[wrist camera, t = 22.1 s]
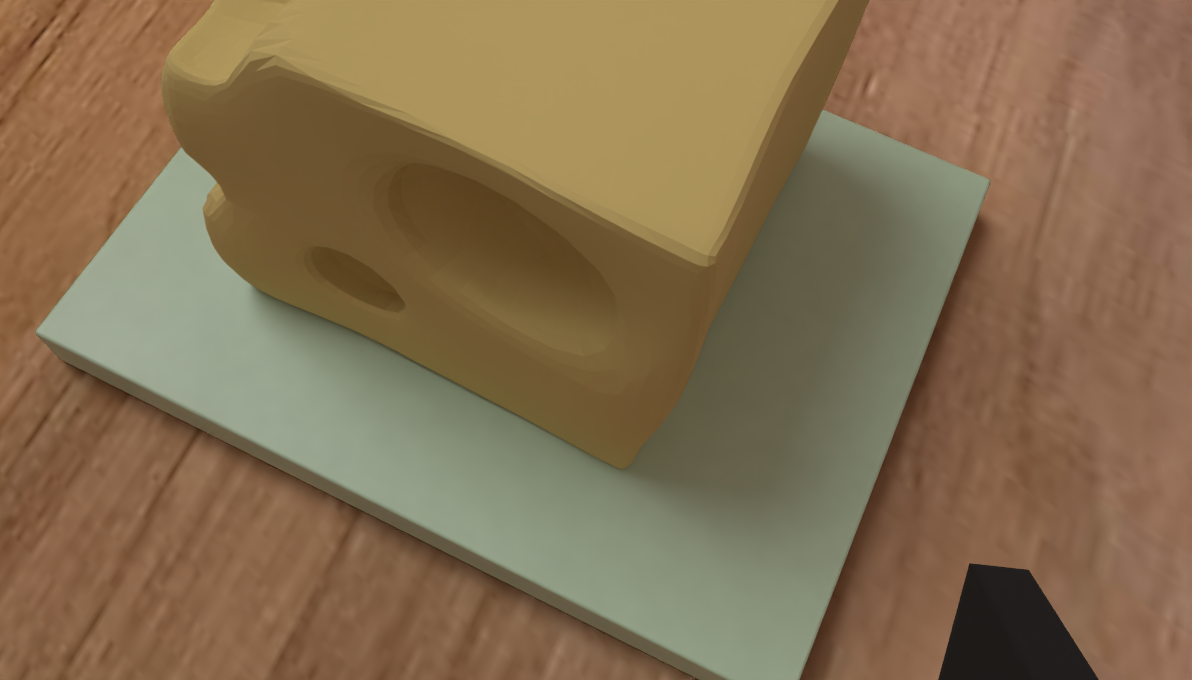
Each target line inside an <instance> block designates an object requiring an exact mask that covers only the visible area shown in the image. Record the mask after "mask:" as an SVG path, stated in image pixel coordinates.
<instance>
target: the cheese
mask: <svg viewBox="0 0 1192 680" xmlns="http://www.w3.org/2000/svg"><path fill="white" fill-rule="evenodd" d="M868 2H869V0H214V1H213V3H212V4H211V6H210V8H209V9H208V11H207V12H206V13H205V14H204V15H203V16H202V18H201V19H200V20H199V21H198V22H197V23H196V24H195V25H194V26H193V27H192V28H191V29H190V30H189V31H188V32H187V33H186V34H185V35H184V36H183V37H182V38H181V39H180V40H179V41H178V42H177V43H176V44H175V46H174V47H173V48H172V50H171V51H170V53H169V55H168V57H167V59H166V61H165V64H164V67H163V72H162V78H161V90H162V97H163V102H164V107H165V110H166V113H167V116H168V118H169V121H170V124H171V127H172V129H173V131H174V133H175V135H176V137H177V139H178V141H179V143H180V145H181V146H182V148H183V150H184V152H185V153H186V154H187V155H189V156H190V157H191V158H192V159H193V160H195V161H196V162H197V163H198V164H199V165H200V166H201V167H203V168H204V169H205V170H206V171H207V172H208V173H209V174H210V175H211V176H212V177H213V178H214V179H215V180H216V182H217V183H216V184H215V186H214V187H213V188H212V189H211V191H210V192H209V193H208V195H207V201H206V202H205V204H204V206H203V214H204V220H205V226H206V229H207V232H208V234H209V237H210V239H211V242H212V245H213V246H214V248H215V250H216V251H217V253H218V254H219V256H220V257H221V258H222V260H223V261H224V262H225V263H226V264H227V265H228V266H229V267H230V268H231V269H233V270H234V271H235V272H236V273H237V274H238V275H239V276H241V277H242V278H243V279H244V280H245V281H247V282H248V283H249V284H251V285H252V286H254V287H255V288H257V289H259V290H261V291H263V292H265V293H266V294H268V295H270V296H272V297H274V298H276V299H279V300H281V301H283V302H286V303H288V304H291V305H293V306H295V307H298V308H301V309H303V310H306V311H308V312H311V313H313V314H315V315H318V316H320V317H323V318H325V319H328V320H330V321H333V322H335V323H337V324H340V325H342V326H344V327H347V328H349V329H352V330H354V331H356V332H358V333H360V334H362V335H364V336H366V337H369V338H371V339H373V340H375V341H377V342H379V343H381V344H383V345H385V346H387V347H389V348H391V349H393V350H395V351H397V352H399V353H401V354H403V355H404V356H406V357H408V358H410V359H412V360H413V361H415V362H417V363H419V364H421V365H423V366H425V367H427V368H429V369H431V370H433V371H435V372H437V373H439V374H440V375H442V376H444V377H446V378H448V379H450V380H452V381H454V382H456V383H458V384H460V385H462V386H463V387H465V388H467V389H469V390H471V391H473V392H475V393H477V394H479V395H481V396H483V397H484V398H486V399H488V400H490V401H492V402H494V403H496V404H498V405H500V406H502V407H504V408H505V409H507V410H509V411H511V412H513V413H515V414H517V415H519V416H521V417H523V418H525V419H526V420H528V421H530V422H532V423H534V424H536V425H538V426H539V427H541V428H543V429H545V430H547V431H548V432H550V433H552V434H554V435H556V436H558V437H559V438H561V439H563V440H565V441H567V442H568V443H570V444H572V445H574V446H576V447H578V448H579V449H581V450H583V451H585V452H587V453H588V454H590V455H592V456H594V457H596V458H598V459H600V460H602V461H604V462H606V463H608V464H610V465H612V466H614V467H616V468H620V469H623V468H626V467H627V466H629V465H630V464H631V463H632V462H633V460H634V459H635V457H636V455H637V454H638V452H639V450H640V449H641V447H642V446H643V444H644V443H645V442H646V441H647V440H648V439H649V438H650V437H651V436H652V434H653V433H654V432H655V431H656V430H657V429H658V428H659V427H660V425H661V424H662V423H663V422H664V421H665V420H666V418H667V417H668V415H669V414H670V412H671V411H672V410H673V408H674V407H675V405H676V404H677V402H678V400H679V398H680V397H681V395H682V393H683V391H684V389H685V387H686V384H687V382H688V380H689V378H690V376H691V373H692V371H693V369H694V366H695V364H696V361H697V358H698V356H699V353H700V351H701V348H702V346H703V343H704V340H705V337H706V335H707V332H708V330H709V328H710V326H711V324H712V323H713V321H714V319H715V317H716V315H717V313H718V311H719V309H720V307H721V305H722V303H723V302H724V300H725V298H726V296H727V294H728V292H729V290H730V288H731V286H732V284H733V282H734V280H735V278H736V277H737V275H738V273H739V271H740V269H741V267H742V265H743V263H744V261H745V259H746V257H747V255H748V253H749V251H750V250H751V248H752V246H753V244H754V242H755V240H756V238H757V236H758V234H759V232H760V230H761V228H762V226H763V224H764V222H765V220H766V218H767V216H768V214H769V212H770V211H771V209H772V207H773V205H774V203H775V201H776V199H777V197H778V196H779V194H780V192H781V190H782V188H783V186H784V184H785V183H786V181H787V179H788V177H789V176H790V174H791V172H792V170H793V169H794V167H795V165H796V163H797V161H798V160H799V158H800V156H801V154H802V153H803V151H804V149H805V148H806V146H807V143H808V141H809V139H810V137H811V134H812V132H813V130H814V127H815V125H816V123H817V121H818V119H819V116H820V114H821V112H822V110H823V107H824V105H825V103H826V101H827V98H828V96H829V94H830V92H831V89H832V87H833V85H834V83H835V80H836V78H837V76H838V74H839V71H840V69H841V67H842V65H843V62H844V60H845V58H846V55H847V53H848V50H849V48H850V46H851V43H852V41H853V38H854V36H855V34H856V31H857V29H858V26H859V24H860V22H861V19H862V17H863V14H864V12H865V9H866V7H867V5H868Z"/></svg>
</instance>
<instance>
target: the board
mask: <svg viewBox="0 0 1192 680" xmlns="http://www.w3.org/2000/svg"><path fill="white" fill-rule="evenodd" d="M216 183H217V182H216V180H215V179H214V178H213V177H212V176H211V175H210V174H209V173H208V172H207V171H206V170H205V169H204V168H203V167H201V166H200V165H199V164H198V163H197V162H196V161H195V160H193V159H192V158H191V157H190V156H189V155H187V154H186V153H185V152H184V150H183V148H182V146H181V148H180V149H179V150H178V151H177V153H176V154H175V155H174V157H173V158H172V159H171V160H170V162H169V163H168V164H167V165H166V167H165V168H164V169H163V170H162V172H161V173H160V174H159V175H158V177H157V178H156V179H155V181H154V182H153V183H152V184H151V186H150V187H149V188H148V189H147V191H146V192H145V193H144V194H143V196H142V197H141V198H140V200H139V201H138V202H137V203H136V205H135V206H134V207H133V208H132V210H131V211H130V212H129V213H128V215H127V216H126V217H125V218H124V220H123V221H122V222H121V224H120V225H119V226H118V227H117V229H116V230H115V231H114V232H113V234H112V235H111V236H110V237H109V239H108V240H107V241H106V242H105V244H104V245H103V246H102V248H101V249H100V250H99V251H98V253H97V254H96V255H95V256H94V258H93V259H92V260H91V261H90V263H89V264H88V265H87V266H86V268H85V269H84V270H83V272H82V273H81V274H80V275H79V277H78V278H77V279H76V280H75V282H74V283H73V284H72V285H71V287H70V288H69V289H68V290H67V292H66V293H65V294H64V296H63V297H62V298H61V299H60V301H59V302H58V303H57V304H56V306H55V307H54V308H53V309H52V311H51V312H50V313H49V314H48V316H47V317H46V318H45V320H44V321H43V322H42V323H41V325H40V326H39V327H38V328H37V330H36V332H35V333H36V335H37V336H38V337H39V338H40V339H41V340H42V341H43V342H44V343H45V344H46V345H47V346H48V347H49V348H50V349H51V350H52V351H53V352H54V353H55V354H56V355H57V356H58V357H59V358H60V359H61V360H63V361H65V362H67V363H69V364H71V365H73V366H75V367H77V368H79V369H81V370H83V371H85V372H87V373H89V374H91V375H93V376H95V377H96V378H98V379H100V380H102V381H104V382H106V383H108V384H110V385H112V386H114V387H116V388H118V389H120V390H122V391H124V392H126V393H128V394H130V395H132V396H134V397H136V398H138V399H140V400H142V401H144V402H146V403H148V404H150V405H152V406H154V407H156V408H158V409H160V410H162V411H164V412H166V413H168V414H170V415H172V416H174V417H176V418H178V419H180V420H182V421H184V422H186V423H188V424H190V425H192V426H194V427H196V428H198V429H200V430H202V431H204V432H206V433H208V434H210V435H212V436H214V437H216V438H218V439H220V440H222V441H224V442H226V443H228V444H230V445H232V446H234V447H236V448H238V449H240V450H242V451H244V452H246V453H248V454H250V455H252V456H254V457H256V458H258V459H260V460H262V461H264V462H266V463H268V464H270V465H272V466H274V467H276V468H278V469H280V470H282V471H284V472H286V473H288V474H290V475H292V476H294V477H296V478H298V479H300V480H302V481H304V482H306V483H308V484H310V485H312V486H314V487H316V488H318V489H320V490H322V491H324V492H326V493H328V494H330V495H332V496H334V497H336V498H338V499H340V500H342V501H344V502H346V503H348V504H350V505H352V506H354V507H356V508H358V509H360V510H362V511H364V512H366V513H368V514H370V515H372V516H374V517H376V518H378V519H380V520H382V521H384V522H386V523H388V524H390V525H392V526H394V527H396V528H398V529H400V530H402V531H404V532H406V533H408V534H410V535H412V536H414V537H415V538H417V539H419V540H421V541H423V542H425V543H427V544H429V545H431V546H433V547H435V548H437V549H439V550H441V551H443V552H445V553H447V554H449V555H451V556H453V557H455V558H457V559H459V560H461V561H463V562H465V563H467V564H469V565H471V566H473V567H475V568H477V569H479V570H481V571H483V572H485V573H487V574H489V575H491V576H493V577H495V578H497V579H499V580H501V581H503V582H505V583H507V584H509V585H511V586H513V587H515V588H517V589H519V590H521V591H523V592H525V593H527V594H529V595H531V596H533V597H535V598H537V599H539V600H541V601H543V602H545V603H547V604H549V605H551V606H553V607H555V608H557V609H559V610H561V611H563V612H565V613H567V614H569V615H571V616H573V617H575V618H577V619H579V620H581V621H583V622H585V623H587V624H589V625H591V626H593V627H595V628H597V629H599V630H601V631H603V632H605V633H607V634H609V635H611V636H613V637H615V638H617V639H619V640H621V641H623V642H625V643H627V644H629V645H631V646H633V647H635V648H637V649H639V650H641V651H643V652H645V653H647V654H649V655H651V656H653V657H655V658H657V659H659V660H661V661H663V662H665V663H667V664H669V665H671V666H673V667H675V668H677V669H679V670H681V671H683V672H685V673H687V674H689V675H691V676H693V677H695V678H697V679H699V680H800V677H801V675H802V672H803V669H804V667H805V664H806V662H807V659H808V656H809V654H810V651H811V649H812V646H813V643H814V641H815V638H816V636H817V633H818V630H819V628H820V625H821V623H822V620H823V617H824V615H825V612H826V610H827V607H828V604H829V602H830V599H831V596H832V594H833V591H834V589H835V586H836V583H837V581H838V578H839V576H840V573H841V570H842V568H843V565H844V563H845V560H846V557H847V555H848V552H849V550H850V547H851V544H852V542H853V539H854V537H855V534H856V531H857V529H858V526H859V524H860V521H861V518H862V516H863V513H864V511H865V508H866V505H867V503H868V500H869V497H870V495H871V492H872V490H873V487H874V484H875V482H876V479H877V477H878V474H879V471H880V469H881V466H882V464H883V461H884V458H885V456H886V453H887V451H888V448H889V445H890V443H891V440H892V438H893V435H894V432H895V430H896V427H897V425H898V422H899V419H900V417H901V414H902V412H903V409H904V406H905V404H906V401H907V398H908V396H909V393H910V391H911V388H912V385H913V383H914V380H915V378H916V375H917V372H918V370H919V367H920V365H921V362H922V359H923V357H924V354H925V352H926V349H927V346H928V344H929V341H930V339H931V336H932V333H933V331H934V328H935V326H936V323H937V320H938V318H939V315H940V312H941V310H942V307H943V305H944V302H945V299H946V297H947V294H948V292H949V289H950V286H951V284H952V281H953V279H954V276H955V273H956V271H957V268H958V266H959V263H960V260H961V258H962V255H963V253H964V250H965V247H966V245H967V242H968V240H969V237H970V234H971V232H972V229H973V227H974V224H975V221H976V219H977V216H978V213H979V211H980V208H981V206H982V203H983V200H984V198H985V195H986V193H987V190H988V187H989V185H990V180H989V179H988V178H985V177H983V176H980V175H978V174H976V173H973V172H971V171H968V170H966V169H964V168H961V167H959V166H956V165H954V164H952V163H949V162H947V161H944V160H942V159H940V158H937V157H935V156H933V155H930V154H928V153H925V152H923V151H921V150H918V149H916V148H913V147H911V146H909V145H906V144H904V143H901V142H899V141H897V140H894V139H892V138H890V137H887V136H885V135H882V134H880V133H878V132H875V131H873V130H870V129H868V128H866V127H863V126H861V125H858V124H856V123H854V122H851V121H849V120H847V119H844V118H842V117H839V116H837V115H835V114H832V113H830V112H827V111H825V110H822V112H821V114H820V116H819V119H818V121H817V123H816V125H815V127H814V130H813V132H812V134H811V137H810V139H809V141H808V143H807V146H806V148H805V149H804V151H803V153H802V154H801V156H800V158H799V160H798V161H797V163H796V165H795V167H794V169H793V170H792V172H791V174H790V176H789V177H788V179H787V181H786V183H785V184H784V186H783V188H782V190H781V192H780V194H779V196H778V197H777V199H776V201H775V203H774V205H773V207H772V209H771V211H770V212H769V214H768V216H767V218H766V220H765V222H764V224H763V226H762V228H761V230H760V232H759V234H758V236H757V238H756V240H755V242H754V244H753V246H752V248H751V250H750V251H749V253H748V255H747V257H746V259H745V261H744V263H743V265H742V267H741V269H740V271H739V273H738V275H737V277H736V278H735V280H734V282H733V284H732V286H731V288H730V290H729V292H728V294H727V296H726V298H725V300H724V302H723V303H722V305H721V307H720V309H719V311H718V313H717V315H716V317H715V319H714V321H713V323H712V324H711V326H710V328H709V330H708V332H707V335H706V337H705V340H704V343H703V346H702V348H701V351H700V353H699V356H698V358H697V361H696V364H695V366H694V369H693V371H692V373H691V376H690V378H689V380H688V382H687V384H686V387H685V389H684V391H683V393H682V395H681V397H680V398H679V400H678V402H677V404H676V405H675V407H674V408H673V410H672V411H671V412H670V414H669V415H668V417H667V418H666V420H665V421H664V422H663V423H662V424H661V425H660V427H659V428H658V429H657V430H656V431H655V432H654V433H653V434H652V436H651V437H650V438H649V439H648V440H647V441H646V442H645V443H644V444H643V446H642V447H641V449H640V450H639V452H638V454H637V455H636V457H635V459H634V460H633V462H632V463H631V464H630V465H629V466H627V467H626V468H623V469H620V468H616V467H614V466H612V465H610V464H608V463H606V462H604V461H602V460H600V459H598V458H596V457H594V456H592V455H590V454H588V453H587V452H585V451H583V450H581V449H579V448H578V447H576V446H574V445H572V444H570V443H568V442H567V441H565V440H563V439H561V438H559V437H558V436H556V435H554V434H552V433H550V432H548V431H547V430H545V429H543V428H541V427H539V426H538V425H536V424H534V423H532V422H530V421H528V420H526V419H525V418H523V417H521V416H519V415H517V414H515V413H513V412H511V411H509V410H507V409H505V408H504V407H502V406H500V405H498V404H496V403H494V402H492V401H490V400H488V399H486V398H484V397H483V396H481V395H479V394H477V393H475V392H473V391H471V390H469V389H467V388H465V387H463V386H462V385H460V384H458V383H456V382H454V381H452V380H450V379H448V378H446V377H444V376H442V375H440V374H439V373H437V372H435V371H433V370H431V369H429V368H427V367H425V366H423V365H421V364H419V363H417V362H415V361H413V360H412V359H410V358H408V357H406V356H404V355H403V354H401V353H399V352H397V351H395V350H393V349H391V348H389V347H387V346H385V345H383V344H381V343H379V342H377V341H375V340H373V339H371V338H369V337H366V336H364V335H362V334H360V333H358V332H356V331H354V330H352V329H349V328H347V327H344V326H342V325H340V324H337V323H335V322H333V321H330V320H328V319H325V318H323V317H320V316H318V315H315V314H313V313H311V312H308V311H306V310H303V309H301V308H298V307H295V306H293V305H291V304H288V303H286V302H283V301H281V300H279V299H276V298H274V297H272V296H270V295H268V294H266V293H265V292H263V291H261V290H259V289H257V288H255V287H254V286H252V285H251V284H249V283H248V282H247V281H245V280H244V279H243V278H242V277H241V276H239V275H238V274H237V273H236V272H235V271H234V270H233V269H231V268H230V267H229V266H228V265H227V264H226V263H225V262H224V261H223V260H222V258H221V257H220V256H219V254H218V253H217V251H216V250H215V248H214V246H213V245H212V242H211V239H210V237H209V234H208V232H207V229H206V226H205V220H204V214H203V206H204V204H205V202H206V201H207V195H208V193H209V192H210V191H211V189H212V188H213V187H214V186H215V184H216Z"/></svg>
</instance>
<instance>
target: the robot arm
mask: <svg viewBox="0 0 1192 680" xmlns="http://www.w3.org/2000/svg"><path fill="white" fill-rule="evenodd" d="M938 680H1098V678H1097V676H1096V675H1095V673H1094V672H1093V670H1092V669H1091V667H1090V665H1089V664H1088V662H1087V661H1086V659H1085V658H1084V656H1083V654H1082V653H1081V651H1080V650H1079V648H1078V647H1077V645H1076V643H1075V642H1074V640H1073V639H1072V637H1071V636H1070V634H1069V632H1068V631H1067V629H1066V628H1065V626H1064V625H1063V623H1062V621H1061V620H1060V618H1059V617H1058V615H1057V614H1056V612H1055V610H1054V609H1053V607H1052V606H1051V604H1050V603H1049V601H1048V600H1047V598H1046V596H1045V595H1044V593H1043V592H1042V590H1041V589H1040V587H1039V585H1038V584H1037V582H1036V581H1035V579H1034V578H1033V576H1032V574H1031V573H1030V571H1029V570H1025V569H1016V568H1007V567H998V566H989V565H980V564H971V563H970V564H969V567H968V571H967V575H966V579H965V582H964V586H963V590H962V594H961V597H960V601H959V605H958V608H957V612H956V616H955V620H954V623H953V627H952V631H951V635H950V638H949V642H948V646H947V649H946V653H945V657H944V661H943V664H942V668H941V672H940V676H939V679H938Z"/></svg>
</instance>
